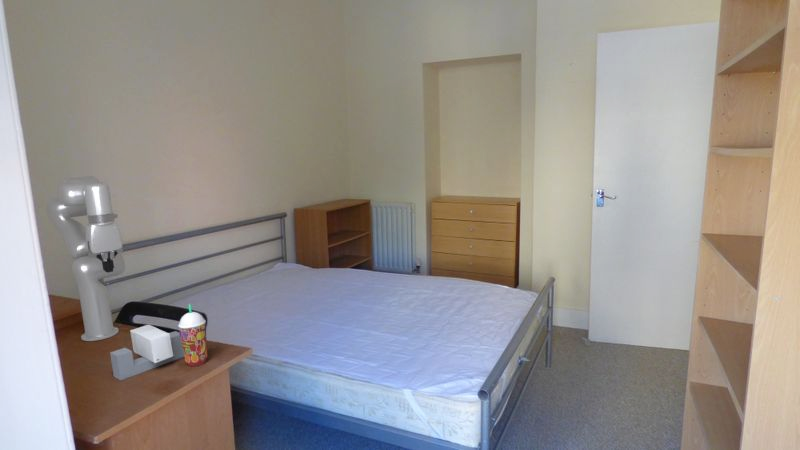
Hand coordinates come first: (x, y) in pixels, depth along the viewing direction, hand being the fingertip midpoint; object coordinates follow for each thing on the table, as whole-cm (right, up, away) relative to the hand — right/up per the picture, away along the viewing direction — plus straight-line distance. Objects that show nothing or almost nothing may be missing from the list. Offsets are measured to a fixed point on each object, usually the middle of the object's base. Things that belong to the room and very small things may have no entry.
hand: (109, 271), depth 175 cm
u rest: (+19, -30, -10) cm, 37 cm away
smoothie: (+34, -29, -9) cm, 46 cm away
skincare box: (+13, -22, -4) cm, 26 cm away
